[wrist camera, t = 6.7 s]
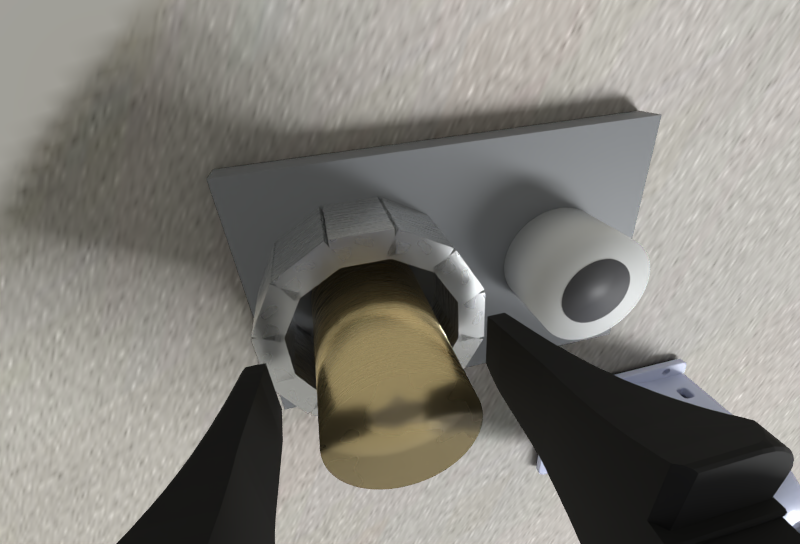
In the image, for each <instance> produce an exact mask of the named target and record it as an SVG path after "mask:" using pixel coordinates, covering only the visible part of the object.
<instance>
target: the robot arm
mask: <svg viewBox="0 0 800 544" xmlns="http://www.w3.org/2000/svg"><path fill="white" fill-rule="evenodd" d="M486 364H487V366H488V368H489V371H490V373H491V375H492V377H493V380H494V382H495V384H496V386H497V388H498V390H499V392H500V393H501V395H502V397H503V398H504V400H505V401H506V403H507V405H508V406H509V408H510V410H511V411H512V413H513V414H514V416H515V418H516V419H517V421H518V422H519V424H520V426H521V427H522V429H523V430H524V432H525V434H526V435H527V437H528V438H529V440H530V442H531V443H532V445H533V446H534V448H535V450H536V452H537V453H538V460H537V466H536V468H537V471H538V472H539V473H540V474H547V473H548V475H549V477H550V479H551V481H552V483H553V485H554V487H555V489H556V491H557V493H558V495H559V497H560V499H561V502H562V504H563V506H564V508H565V510H566V512H567V514H568V516H569V519H570V521H571V523H572V525H573V528H574V530H575V532H576V534H577V537H578V539H579V541H580V543H581V544H800V485H799V483H798V481H797V480H796V478H795V476H794V475H793V473H792V472H791V469H792V467H793V461H794V458H793V454H792V452H791V450H790V449H789V448H788V447H786V446H785V445H784V444H783V443H781V442H780V441H779V440H778V439H777V438H775V437H774V436H773V435H772V434H770V433H769V432H768V431H767V430H765V429H764V428H763V427H762V426H761V425H759V424H758V423H757V422H755V421H754V420H750V419H746V418H742V417H738V416H734V415H732V414H731V413H730V412H729V411H728V410H726V409H725V408H724V407H723V406H722V405H720V404H719V403H718V402H717V401H716V400H714V399H713V398H712V397H711V396H710V395H708V394H707V393H706V392H705V391H704V390H703V389H701V388H700V387H699V386H698V385H697V384H695V383H694V382H693V381H692V380H691V379H689V378H688V377H687V376H686V375H685V374H684V371H685V369H686V363H685V362H684V361H683V360H682V359H675V360H671V361H667V362H663V363H659V364H655V365H651V366H647V367H643V368H639V369H635V370H631V371H627V372H623V373H619V374H615V375H613V374H611V373H608V372H606V371H604V370H602V369H600V368H598V367H596V366H594V365H592V364H590V363H588V362H586V361H584V360H582V359H580V358H578V357H577V356H575V355H573V354H571V353H569V352H567V351H566V350H564V349H562V348H560V347H559V346H557V345H555V344H554V343H552V342H550V341H549V340H547V339H546V338H544V337H542V336H541V335H539V334H538V333H536V332H534V331H533V330H531V329H530V328H528V327H527V326H525V325H523V324H522V323H520V322H519V321H517V320H516V319H514V318H513V317H511V316H509V315H508V314H506V313H500V314H496V315H491V316H487V343H486ZM282 442H283V436H282V409H281V406H280V403H279V400H278V397H277V394H276V391H275V388H274V385H273V382H272V380H271V377H270V374H269V371H268V368H267V365H266V363H264V364H259V365H254V366H250V367H245V369H244V370H243V371H242V373H241V375H240V377H239V379H238V380H237V382H236V384H235V386H234V388H233V389H232V391H231V393H230V395H229V396H228V398H227V400H226V402H225V403H224V405H223V407H222V408H221V410H220V412H219V413H218V415H217V417H216V418H215V420H214V422H213V423H212V425H211V426H210V428H209V430H208V431H207V433H206V434H205V436H204V437H203V438H202V440H201V441H200V443H199V444H198V446H197V447H196V449H195V450H194V452H193V453H192V455H191V456H190V457H189V459H188V460H187V462H186V463H185V464H184V466H183V467H182V468H181V470H180V471H179V472H178V474H177V475H176V476H175V478H174V479H173V480H172V481H171V483H170V484H169V485H168V486H167V488H166V489H165V490H164V491H163V493H162V494H161V495H160V496H159V497H158V498H157V500H156V501H155V502H154V503H153V504H152V505H151V507H150V508H149V509H148V510H147V511H146V512H145V513H144V514H143V516H142V517H141V518H140V519H139V520H138V521H137V522H136V523H135V525H134V526H133V527H132V528H131V529H130V530H129V531H128V532H127V533H126V534H125V535H124V536H123V537H122V538H121V539H120V540H119V541H118V543H117V544H275V519H276V507H277V496H278V486H279V475H280V465H281V454H282Z"/></svg>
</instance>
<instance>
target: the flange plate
mask: <svg viewBox="0 0 800 544" xmlns="http://www.w3.org/2000/svg"><path fill="white" fill-rule="evenodd" d="M660 119H661V115H660V114H654V113H649V112H643V111H634V112H626V113H619V114H612V115H605V116H597V117H590V118H583V119H576V120H568V121H561V122H554V123H547V124H539V125H532V126H525V127H518V128H510V129H503V130H496V131H489V132H481V133H474V134H467V135H460V136H452V137H445V138H438V139H431V140H424V141H416V142H409V143H402V144H395V145H387V146H380V147H373V148H366V149H358V150H351V151H344V152H337V153H329V154H322V155H315V156H308V157H300V158H293V159H286V160H279V161H271V162H264V163H257V164H250V165H242V166H235V167H228V168H221V169H214V170H213V171H212V172H211V173H210V175H209V176H208V178H207V182H208V185H209V188H210V191H211V194H212V197H213V200H214V203H215V206H216V208H217V211H218V214H219V217H220V220H221V223H222V226H223V229H224V232H225V235H226V238H227V241H228V244H229V247H230V250H231V253H232V256H233V259H234V262H235V264H236V267H237V270H238V273H239V276H240V279H241V282H242V285H243V288H244V291H245V294H246V297H247V300H248V303H249V306H250V309H251V312H252V315H253V318H254V315H255V309H256V303H257V297H258V290H259V286H260V283H261V281H262V278H263V275H264V272H265V269H266V266H267V263H268V260H269V257H270V255H271V252H272V249H273V246H274V243H275V244H276V240H278V239H279V238H280V237H281V236H283V235H284V234H285V233H287V232H288V231H289V230H290V229H292V228H293V227H294V226H295V225H297V224H298V223H299V222H301V221H302V220H303V219H304V218H306V217H307V216H308V215H310V214H311V213H312V212H313V211H315V210H316V209H317V208H318V207H319V208H320V209H321V210H322V211H323V205H329V204H336V203H342V202H348V201H355V200H361V199H367V198H374V197H377V198H378V199H379V200H380V198H384V199H387V200H389V201H392V202H394V203H397V204H400V205H402V206H405V207H408V208H410V209H413V210H416V211H418V212H421V213H423V214H426V215H428V216H429V217H430V218H431V219H432V220H433V221H434V223H435V224H436V225H437V226H438V228H439V229H440V230H441V231H442V233H443V234H444V235H445V236H446V238H447V239H448V240H449V241H450V243H451V244H452V245H453V246H454V248H455V249H456V250H457V252H458V253H459V254H460V256H461V257H462V259H463V260H464V261H465V263H466V264H467V266H468V267H469V268H470V270H471V271H472V273H473V274H474V275H475V277H476V278H477V280H478V281H479V283H480V284H481V285H482V287H483V288H484V291H485V317H484V337H482V339H483V340H482V342H481V343H480V345H479V347H478V348H477V350H476V351H475V353H474V354H473V356H472V358H471V359H470V361H469V362H468V364H467V365H466V367H470V366H474V365H479V364H483V363H486V343H487V316H491V315H496V314H500V313H506V314H508V315H509V316H511V317H513V318H514V319H516V320H517V321H519V322H520V323H522V324H523V325H525V326H527V327H528V328H530V329H531V330H533V331H534V332H536V333H538V334H539V335H541V336H542V337H544V338H546V339H547V340H549V341H550V342H552V343H554V344H555V345H557V346H561V345H565V344H569V343H574V342H578V341H582V340H586V339H591V338H595V337H599V336H604V335H608V334H610V330H611V327H613V326H614V325H616V324H617V323H618V322H620V321H621V320H622V319H623V318H624V317H625V316H626V315H627V314H628V313H629V312H630V311H631V310H632V309H633V308H634V307H635V305H636V304H637V303H638V301H639V300H640V298H641V296H642V295H643V293H644V291H645V288H646V286H647V283H648V280H649V275H650V260H649V256H648V254H647V252H646V250H645V249H644V247H643V246H642V245H641V244H640V243H638V242H637V241H635V240H633V239H632V237H633V233H634V229H635V224H636V220H637V216H638V212H639V207H640V203H641V199H642V195H643V191H644V186H645V182H646V178H647V174H648V170H649V165H650V161H651V157H652V153H653V149H654V144H655V140H656V136H657V132H658V127H659V123H660ZM408 265H409V264H408ZM409 267H410V268H411V270H412V271H413V273H414V275H415V277H416V279H417V281H418V283H419V285H420V287H421V289H422V291H423V293H424V295H425V297H426V298H427V300H428V302H429V304H430V303H431V301H432V299H433V297H434V296H435V291H434V272H431V271H428V270H425V269H422V268H419V267H416V266H412V265H409ZM311 294H312V290H310V291H309V292H308V293H306V294H305V295H304V296H302V297H301V298H300V299H299V302H298V305H297V307H296V310H295V312H294V315H293V317H294V320H295V323H296V324H297V325H298V326H299V327H300V328H302V329H303V330H304V331H305V332H306V333H308V334H309V335H310V336H311V337H312V338H313V339H314V336H313V319H312V302H311ZM466 367H465V368H466ZM280 397H281V400H282V403H283V406H284V409H289V408H293V407H297V406H296V405H294V404H293V403H291V402H290V401H289V400H287V399H286V398H284V397H283V396H281V395H280Z"/></svg>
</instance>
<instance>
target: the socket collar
mask: <svg viewBox="0 0 800 544" xmlns="http://www.w3.org/2000/svg"><path fill="white" fill-rule="evenodd" d="M387 259H394V260H397V261H400V262H403V263H406V264H409V265H412V266H416V267H419V268H422V269H425V270H428V271H431V272H434V291H435V296H434V297H433V299H432V301H431V303H430V306H431V308H432V310H433V312H434V314H435V316H436V318H437V320H438V322H439V323H440V325H441V327H442V329H443V331H444V333H445V335H446V337H447V339H448V341H449V343H450V345H451V347H452V348H453V350H454V352H455V354H456V356H457V358H458V360H459V362H460V364H461V366H462V368H463V370H464V369H465V367H466V365H467V364H468V362H469V361H470V359H471V358H472V356H473V354H474V353H475V351H476V350H477V348H478V347H479V345H480V343H481V342H482V340H483V339H482V337H484V317H485V291H484V288H483V287H482V285H481V284H480V283H479V281H478V280H477V278H476V277H475V275H474V274H473V273H472V271H471V270H470V268H469V267H468V266H467V264H466V263H465V261H464V260H463V259H462V257H461V256H460V254H459V253H458V252H457V250H456V249H455V248H454V246H453V245H452V244H451V243H450V241H449V240H448V239H447V238H446V236H445V235H444V234H443V233H442V231H441V230H440V229H439V228H438V226H437V225H436V224H435V223H434V221H433V220H432V219H431V218H430V217H429V216H428V215H426V214H423V213H421V212H418V211H416V210H413V209H410V208H408V207H405V206H402V205H400V204H397V203H394V202H392V201H389V200H387V199H384V198H380V200H379V199H378V198H377V197H374V198H367V199H361V200H355V201H348V202H342V203H336V204H329V205H323V211H322V210H321V209H320V208H319V207H318V208H317V209H316V210H315V211H313V212H312V213H311V214H310V215H308V216H307V217H306V218H304V219H303V220H302V221H301V222H299V223H298V224H297V225H295V226H294V227H293V228H292V229H290V230H289V231H288V232H287V233H285V234H284V235H283V236H281V237H280V238H279V239H278V240H276V244H275V243H274V246H273V249H272V252H271V255H270V257H269V260H268V263H267V266H266V269H265V272H264V275H263V278H262V281H261V283H260V286H259V290H258V297H257V303H256V309H255V315H254V321H253V328H252V334H251V341H252V344H253V347H254V350H255V352H256V355H257V358H258V361H259V364H264V363H266V365H267V368H268V371H269V374H270V377H271V380H272V382H273V385H274V388H275V391H276V392H277V393H278V394H280V395H281V396H283V397H284V398H286V399H287V400H289V401H290V402H291V403H293V404H294V405H296V406H297V407H299V408H300V409H302V410H303V411H304V412H306V413H307V414H308V413H310V412H311V415H315V416H318V405H317V388H316V371H315V353H314V339H313V338H312V337H311V336H310V335H309V334H308V333H306V332H305V331H304V330H303V329H302V328H300V327H299V326H298V325H297V324H296V323H295V320H294V317H293V315H294V312H295V310H296V307H297V305H298V302H299V299H300V298H301V297H302V296H304V295H305V294H306V293H308V292H309V291H310V290H312V289H313V288H314V287H316V286H317V285H318V284H320V283H321V282H322V281H324V280H325V279H326V278H328V277H329V276H330V275H332V274H333V273H334V272H336V271H337V270H338V269H340V268H343V267H349V266H354V265H359V264H365V263H370V262H376V261H381V260H387Z"/></svg>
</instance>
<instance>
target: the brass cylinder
mask: <svg viewBox="0 0 800 544" xmlns="http://www.w3.org/2000/svg"><path fill="white" fill-rule="evenodd" d="M311 302H312V319H313V336H314V353H315V371H316V388H317V405H318V422H319V439H320V452H321V458H322V460H323V463H324V465H325V466H326V468H327V469H328V470H329V471H330V472H331V473H332V475H334V476H335V477H336V478H338V479H339V480H341V481H343V482H345V483H347V484H350V485H353V486H356V487H360V488H366V489H393V488H399V487H404V486H409V485H412V484H415V483H419V482H421V481H424V480H426V479H429V478H431V477H433V476H435V475H437V474H439V473H441V472H442V471H444V470H446V469H447V468H449V467H450V466H451V465H453V464H454V463H455V462H456V461H458V460H459V459H460V458H461V457H462V456H463V455H464V454H465V453H466V452H467V451H468V450H469V448H470V447H471V446H472V444H473V443H474V441H475V440H476V438H477V436H478V434H479V432H480V429H481V425H482V419H483V411H482V406H481V403H480V401H479V399H478V397H477V395H476V393H475V391H474V389H473V387H472V385H471V383H470V381H469V379H468V377H467V375H466V373H465V372H464V370H463V368H462V366H461V364H460V362H459V360H458V358H457V356H456V354H455V352H454V350H453V348H452V347H451V345H450V343H449V341H448V339H447V337H446V335H445V333H444V331H443V329H442V327H441V325H440V323H439V322H438V320H437V318H436V316H435V314H434V312H433V310H432V308H431V306H430V304H429V302H428V300H427V298H426V297H425V295H424V293H423V291H422V289H421V287H420V285H419V283H418V281H417V279H416V277H415V275H414V273H413V271H412V270H411V268H410V267H409V265H408V264H406V263H403V262H400V261H397V260H394V259H387V260H381V261H376V262H370V263H365V264H359V265H354V266H349V267H343V268H340V269H338V270H337V271H336V272H334V273H333V274H332V275H330V276H329V277H328V278H326V279H325V280H324V281H322V282H321V283H320V284H318V285H317V286H316V287H314V288H313V289H312V294H311Z"/></svg>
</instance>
